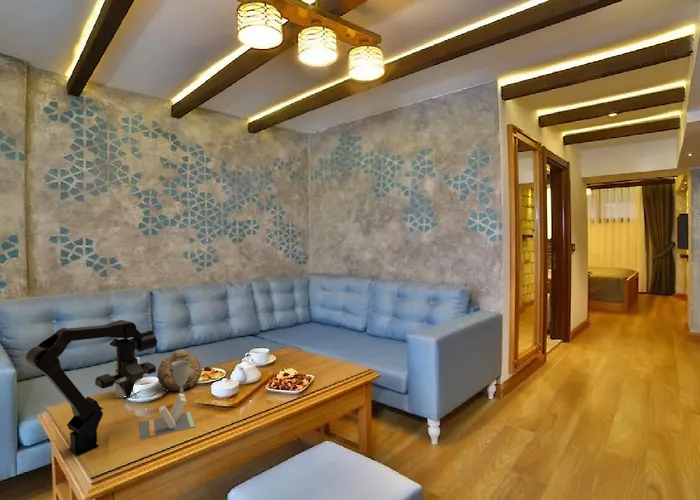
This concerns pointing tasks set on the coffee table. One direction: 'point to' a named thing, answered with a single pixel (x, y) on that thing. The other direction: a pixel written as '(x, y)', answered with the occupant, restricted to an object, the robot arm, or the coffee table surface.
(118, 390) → the skincare box
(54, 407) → the coffee table surface
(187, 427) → the slat rack base
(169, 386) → the buddha statue
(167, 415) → the handle
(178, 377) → the chalice
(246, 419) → the coffee table surface
